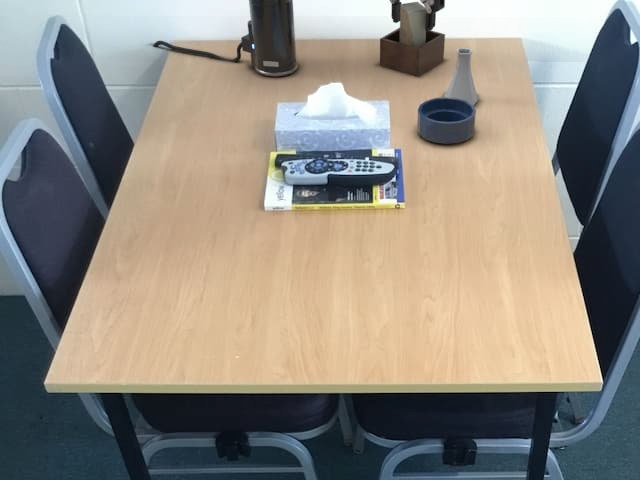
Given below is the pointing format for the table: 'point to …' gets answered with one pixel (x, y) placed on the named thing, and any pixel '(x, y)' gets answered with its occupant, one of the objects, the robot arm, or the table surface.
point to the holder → (411, 53)
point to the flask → (462, 79)
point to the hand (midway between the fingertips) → (412, 25)
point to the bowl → (446, 120)
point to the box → (412, 24)
